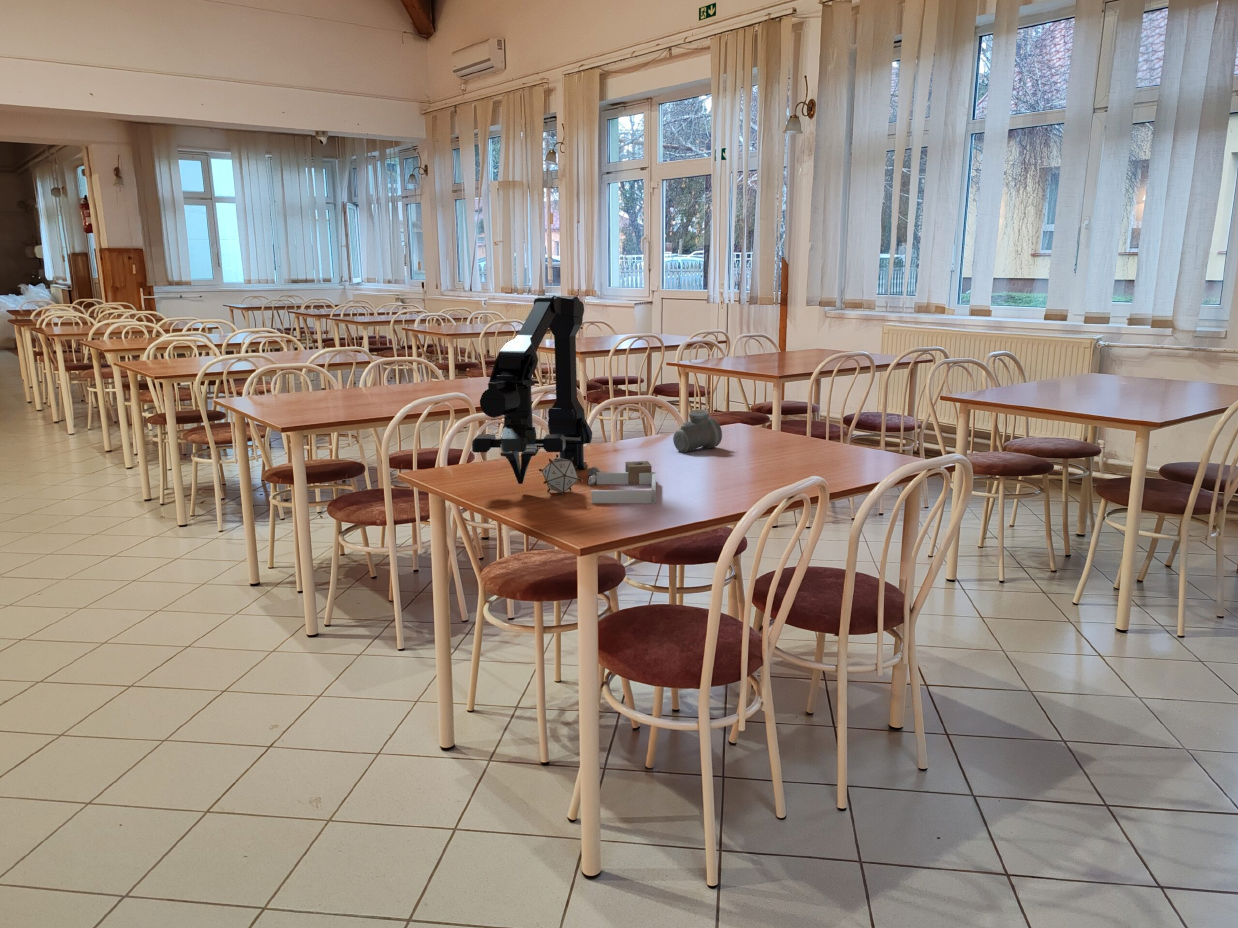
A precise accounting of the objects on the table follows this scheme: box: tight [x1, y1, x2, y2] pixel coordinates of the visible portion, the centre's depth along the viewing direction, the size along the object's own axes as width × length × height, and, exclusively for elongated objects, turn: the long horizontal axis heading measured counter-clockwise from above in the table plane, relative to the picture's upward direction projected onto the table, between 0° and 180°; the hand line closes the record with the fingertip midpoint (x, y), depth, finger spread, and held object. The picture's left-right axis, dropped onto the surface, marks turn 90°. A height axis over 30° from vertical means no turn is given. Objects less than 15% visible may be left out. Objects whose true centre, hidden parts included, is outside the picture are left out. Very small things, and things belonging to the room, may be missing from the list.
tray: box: [590, 471, 657, 504], centre depth 181 cm, size 17×13×2 cm
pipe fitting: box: [672, 409, 723, 453], centre depth 224 cm, size 12×8×10 cm
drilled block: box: [624, 460, 653, 486], centre depth 191 cm, size 5×5×4 cm
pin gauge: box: [587, 466, 601, 487], centre depth 191 cm, size 8×2×2 cm, turn 178°
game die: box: [538, 453, 583, 497], centre depth 181 cm, size 9×8×10 cm
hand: (520, 483), depth 182 cm, fingers closed
